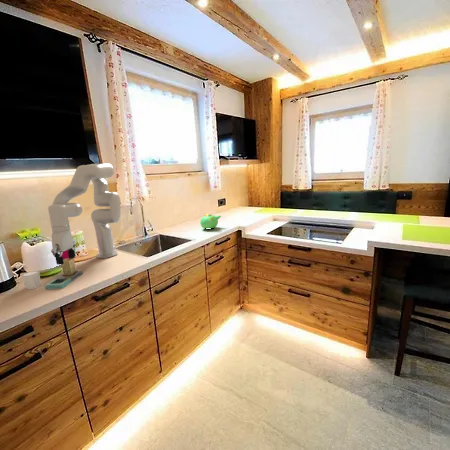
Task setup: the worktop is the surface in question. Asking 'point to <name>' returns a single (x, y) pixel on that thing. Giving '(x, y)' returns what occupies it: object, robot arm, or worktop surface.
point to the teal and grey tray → (62, 281)
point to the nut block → (68, 267)
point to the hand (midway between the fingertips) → (66, 260)
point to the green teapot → (209, 221)
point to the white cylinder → (31, 279)
